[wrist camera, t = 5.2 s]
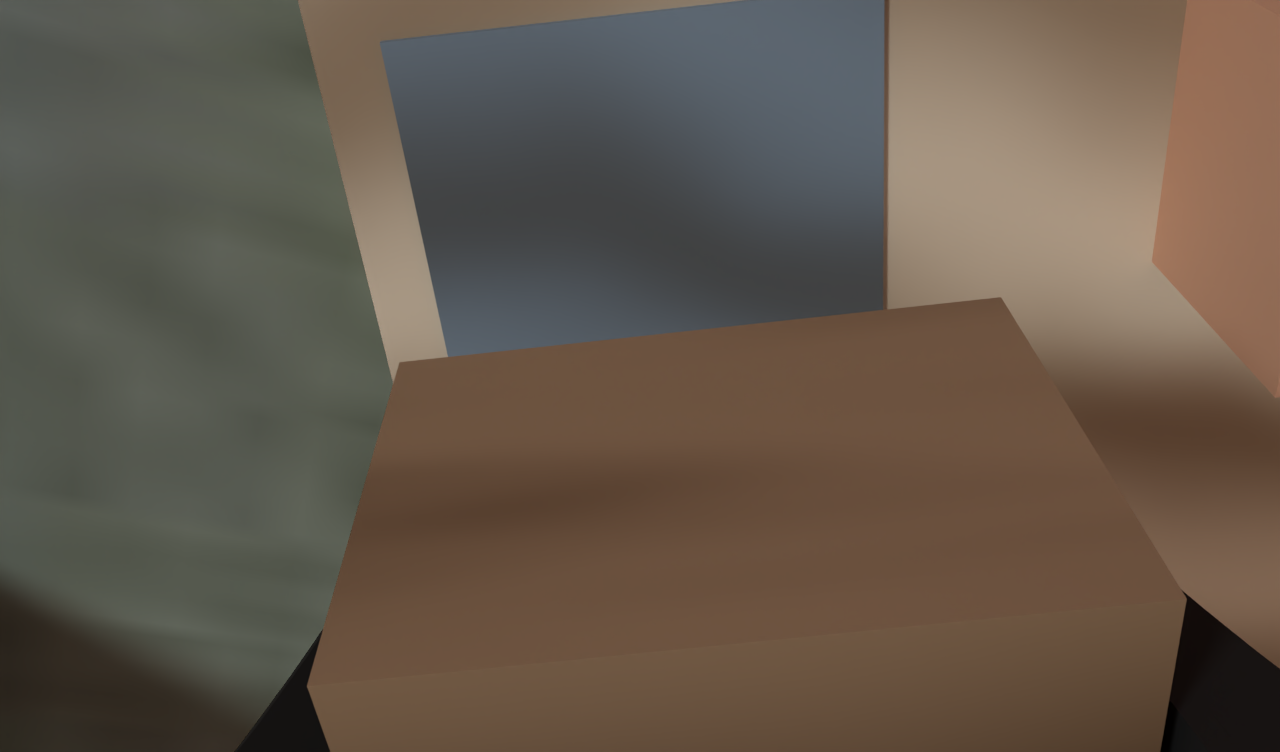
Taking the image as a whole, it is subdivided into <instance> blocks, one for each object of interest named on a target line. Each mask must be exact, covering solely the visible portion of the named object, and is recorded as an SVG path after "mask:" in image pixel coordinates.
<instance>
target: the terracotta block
mask: <svg viewBox="0 0 1280 752" xmlns="http://www.w3.org/2000/svg"><path fill="white" fill-rule="evenodd" d="M1152 263H1153V264H1154V265H1155V266H1156V267H1157V268H1158V269H1159V270H1160V271H1161V272H1162V274H1163V275H1164V276H1165V277H1166V278H1167V279H1168V280H1169V281H1170V282H1171V283H1172V285H1173V286H1174V287H1175V288H1176V289H1177V290H1178V291H1179V292H1180V293H1181V294H1182V296H1183V297H1184V298H1185V299H1186V300H1187V301H1188V302H1189V303H1190V304H1191V306H1192V307H1193V308H1194V309H1195V310H1196V311H1197V312H1198V313H1199V314H1200V315H1201V317H1202V318H1203V319H1204V320H1205V321H1206V322H1207V323H1208V324H1209V325H1210V326H1211V328H1212V329H1213V330H1214V331H1215V332H1216V333H1217V334H1218V335H1219V336H1220V338H1221V339H1222V340H1223V341H1224V342H1225V343H1226V344H1227V345H1228V346H1229V347H1230V349H1231V350H1232V351H1233V352H1234V353H1235V354H1236V355H1237V356H1238V357H1239V358H1240V360H1241V361H1242V362H1243V363H1244V364H1245V365H1246V366H1247V367H1248V368H1249V369H1250V371H1251V372H1252V373H1253V374H1254V375H1255V376H1256V377H1257V378H1258V379H1259V381H1260V382H1261V383H1262V384H1263V385H1264V386H1265V387H1266V388H1267V389H1268V390H1269V392H1270V393H1271V394H1272V395H1273V396H1274V397H1275V398H1278V397H1280V0H1187V5H1186V12H1185V20H1184V27H1183V34H1182V42H1181V49H1180V57H1179V64H1178V71H1177V79H1176V86H1175V94H1174V101H1173V108H1172V116H1171V123H1170V131H1169V138H1168V145H1167V153H1166V160H1165V168H1164V175H1163V182H1162V190H1161V197H1160V205H1159V212H1158V220H1157V227H1156V234H1155V242H1154V249H1153V257H1152Z"/></svg>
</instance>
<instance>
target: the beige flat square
mask: <svg viewBox="0 0 1280 752" xmlns="http://www.w3.org/2000/svg"><path fill="white" fill-rule="evenodd" d="M298 3H299V7H300V11H301V15H302V19H303V23H304V27H305V31H306V35H307V39H308V43H309V47H310V51H311V55H312V59H313V63H314V67H315V71H316V75H317V79H318V83H319V87H320V91H321V95H322V99H323V103H324V107H325V111H326V115H327V119H328V123H329V127H330V131H331V135H332V139H333V143H334V147H335V151H336V155H337V159H338V163H339V167H340V171H341V175H342V179H343V183H344V187H345V191H346V195H347V199H348V203H349V207H350V211H351V215H352V220H353V224H354V228H355V232H356V236H357V240H358V244H359V248H360V252H361V256H362V260H363V264H364V268H365V272H366V276H367V280H368V284H369V288H370V292H371V296H372V300H373V304H374V308H375V312H376V316H377V320H378V324H379V328H380V332H381V336H382V340H383V344H384V348H385V352H386V356H387V360H388V364H389V368H390V372H391V376H392V380H393V383H394V380H395V376H396V373H397V369H398V366H399V362H406V361H416V360H425V359H434V358H443V357H453V356H462V355H471V354H480V353H490V352H499V351H508V350H517V349H527V348H536V347H545V346H554V345H564V344H573V343H582V342H591V341H600V340H610V339H619V338H628V337H637V336H647V335H656V334H665V333H674V332H684V331H693V330H702V329H711V328H721V327H730V326H739V325H748V324H758V323H767V322H776V321H785V320H795V319H804V318H813V317H822V316H832V315H841V314H850V313H859V312H869V311H878V310H887V309H896V308H905V307H915V306H924V305H933V304H942V303H952V302H961V301H970V300H979V299H989V298H998V297H1001V298H1002V300H1003V301H1004V303H1005V304H1006V306H1007V308H1008V309H1009V311H1010V313H1011V314H1012V316H1013V317H1014V319H1015V321H1016V322H1017V324H1018V326H1019V327H1020V329H1021V330H1022V332H1023V334H1024V335H1025V337H1026V338H1027V340H1028V342H1029V343H1030V345H1031V347H1032V348H1033V350H1034V351H1035V353H1036V355H1037V356H1038V358H1039V360H1040V361H1041V363H1042V364H1043V366H1044V368H1045V369H1046V371H1047V373H1048V374H1049V376H1050V377H1051V379H1052V381H1053V382H1054V384H1055V386H1056V387H1057V389H1058V390H1059V392H1060V394H1061V395H1062V397H1063V399H1064V400H1065V402H1066V403H1067V405H1068V407H1069V408H1070V410H1071V412H1072V413H1073V415H1074V416H1075V418H1076V420H1077V421H1078V423H1079V425H1080V426H1081V428H1082V429H1083V431H1084V433H1085V434H1086V436H1087V438H1088V439H1089V441H1090V442H1091V444H1092V446H1093V447H1094V449H1095V451H1096V452H1097V454H1098V455H1099V457H1100V459H1101V460H1102V462H1103V464H1104V465H1105V467H1106V468H1107V470H1108V472H1109V473H1110V475H1111V477H1112V478H1113V480H1114V481H1115V483H1116V485H1117V486H1118V488H1119V490H1120V491H1121V493H1122V494H1123V496H1124V498H1125V499H1126V501H1127V502H1128V504H1129V506H1130V507H1131V509H1132V511H1133V512H1134V514H1135V515H1136V517H1137V519H1138V520H1139V522H1140V524H1141V525H1142V527H1143V528H1144V530H1145V532H1146V533H1147V535H1148V537H1149V538H1150V540H1151V541H1152V543H1153V545H1154V546H1155V548H1156V550H1157V551H1158V553H1159V554H1160V556H1161V558H1162V559H1163V561H1164V563H1165V564H1166V566H1167V567H1168V569H1169V571H1170V572H1171V574H1172V576H1173V577H1174V579H1175V580H1176V582H1177V584H1178V585H1179V587H1180V589H1181V590H1183V591H1184V592H1185V593H1186V594H1187V595H1188V596H1190V597H1191V598H1192V599H1193V600H1194V601H1196V602H1197V603H1198V604H1199V605H1200V606H1202V607H1203V608H1204V609H1205V610H1206V611H1208V612H1209V613H1210V614H1211V615H1213V616H1214V617H1215V618H1216V619H1218V620H1219V621H1220V622H1221V623H1223V624H1224V625H1225V626H1226V627H1227V628H1229V629H1230V630H1231V631H1232V632H1234V633H1235V634H1236V635H1237V636H1239V637H1240V638H1241V639H1242V640H1244V641H1245V642H1246V643H1247V644H1249V645H1250V646H1251V647H1252V648H1254V649H1255V650H1256V651H1257V652H1259V653H1260V654H1261V655H1263V656H1264V657H1265V658H1266V659H1268V660H1269V661H1270V662H1272V663H1273V664H1274V665H1276V666H1277V667H1278V668H1280V397H1278V398H1275V397H1274V396H1273V395H1272V394H1271V393H1270V392H1269V390H1268V389H1267V388H1266V387H1265V386H1264V385H1263V384H1262V383H1261V382H1260V381H1259V379H1258V378H1257V377H1256V376H1255V375H1254V374H1253V373H1252V372H1251V371H1250V369H1249V368H1248V367H1247V366H1246V365H1245V364H1244V363H1243V362H1242V361H1241V360H1240V358H1239V357H1238V356H1237V355H1236V354H1235V353H1234V352H1233V351H1232V350H1231V349H1230V347H1229V346H1228V345H1227V344H1226V343H1225V342H1224V341H1223V340H1222V339H1221V338H1220V336H1219V335H1218V334H1217V333H1216V332H1215V331H1214V330H1213V329H1212V328H1211V326H1210V325H1209V324H1208V323H1207V322H1206V321H1205V320H1204V319H1203V318H1202V317H1201V315H1200V314H1199V313H1198V312H1197V311H1196V310H1195V309H1194V308H1193V307H1192V306H1191V304H1190V303H1189V302H1188V301H1187V300H1186V299H1185V298H1184V297H1183V296H1182V294H1181V293H1180V292H1179V291H1178V290H1177V289H1176V288H1175V287H1174V286H1173V285H1172V283H1171V282H1170V281H1169V280H1168V279H1167V278H1166V277H1165V276H1164V275H1163V274H1162V272H1161V271H1160V270H1159V269H1158V268H1157V267H1156V266H1155V265H1154V264H1153V263H1152V257H1153V249H1154V242H1155V234H1156V227H1157V220H1158V212H1159V205H1160V197H1161V190H1162V182H1163V175H1164V168H1165V160H1166V153H1167V145H1168V138H1169V131H1170V123H1171V116H1172V108H1173V101H1174V94H1175V86H1176V79H1177V71H1178V64H1179V57H1180V49H1181V42H1182V34H1183V27H1184V20H1185V12H1186V5H1187V0H298Z"/></svg>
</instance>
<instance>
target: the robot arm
mask: <svg viewBox="0 0 1280 752" xmlns="http://www.w3.org/2000/svg"><path fill="white" fill-rule="evenodd" d="M1182 592H1183V593H1184V595H1185V597H1186V598H1187V601H1186V606H1185V612H1184V618H1183V624H1182V629H1181V635H1180V641H1179V647H1178V652H1177V658H1176V664H1175V670H1174V675H1173V681H1172V687H1171V692H1170V698H1169V704H1168V710H1167V715H1166V721H1165V727H1164V733H1163V738H1162V744H1161V750H1160V752H1280V668H1278V667H1277V666H1276V665H1274V664H1273V663H1272V662H1270V661H1269V660H1268V659H1266V658H1265V657H1264V656H1263V655H1261V654H1260V653H1259V652H1257V651H1256V650H1255V649H1254V648H1252V647H1251V646H1250V645H1249V644H1247V643H1246V642H1245V641H1244V640H1242V639H1241V638H1240V637H1239V636H1237V635H1236V634H1235V633H1234V632H1232V631H1231V630H1230V629H1229V628H1227V627H1226V626H1225V625H1224V624H1223V623H1221V622H1220V621H1219V620H1218V619H1216V618H1215V617H1214V616H1213V615H1211V614H1210V613H1209V612H1208V611H1206V610H1205V609H1204V608H1203V607H1202V606H1200V605H1199V604H1198V603H1197V602H1196V601H1194V600H1193V599H1192V598H1191V597H1190V596H1188V595H1187V594H1186V593H1185V592H1184V591H1183V590H1182ZM322 631H323V630H322ZM322 631H321V633H320V634H319V636H318V637H317V638H316V640H315V641H314V643H313V644H312V646H311V647H310V649H309V650H308V652H307V653H306V654H305V656H304V657H303V659H302V660H301V662H300V663H299V665H298V666H297V667H296V669H295V670H294V672H293V673H292V675H291V676H290V677H289V679H288V680H287V682H286V683H285V684H284V686H283V687H282V688H281V690H280V691H279V692H278V694H277V695H276V697H275V698H274V699H273V701H272V702H271V703H270V705H269V706H268V708H267V709H266V710H265V712H264V713H263V714H262V716H261V717H260V719H259V720H258V721H257V723H256V724H255V725H254V727H253V728H252V729H251V731H250V732H249V733H248V735H247V736H246V737H245V739H244V740H243V741H242V743H241V744H240V745H239V747H238V748H237V749H236V750H235V752H330V749H329V747H328V744H327V741H326V738H325V735H324V733H323V730H322V727H321V724H320V721H319V719H318V716H317V713H316V710H315V707H314V705H313V702H312V699H311V696H310V693H309V691H308V688H307V684H308V680H309V677H310V673H311V670H312V666H313V663H314V659H315V656H316V652H317V649H318V645H319V642H320V638H321V635H322Z"/></svg>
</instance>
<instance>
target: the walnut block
mask: <svg viewBox="0 0 1280 752" xmlns="http://www.w3.org/2000/svg"><path fill="white" fill-rule="evenodd" d="M1186 601H1187V598H1186V597H1185V595H1184V593H1183V592H1182V590H1181V589H1180V587H1179V585H1178V584H1177V582H1176V580H1175V579H1174V577H1173V576H1172V574H1171V572H1170V571H1169V569H1168V567H1167V566H1166V564H1165V563H1164V561H1163V559H1162V558H1161V556H1160V554H1159V553H1158V551H1157V550H1156V548H1155V546H1154V545H1153V543H1152V541H1151V540H1150V538H1149V537H1148V535H1147V533H1146V532H1145V530H1144V528H1143V527H1142V525H1141V524H1140V522H1139V520H1138V519H1137V517H1136V515H1135V514H1134V512H1133V511H1132V509H1131V507H1130V506H1129V504H1128V502H1127V501H1126V499H1125V498H1124V496H1123V494H1122V493H1121V491H1120V490H1119V488H1118V486H1117V485H1116V483H1115V481H1114V480H1113V478H1112V477H1111V475H1110V473H1109V472H1108V470H1107V468H1106V467H1105V465H1104V464H1103V462H1102V460H1101V459H1100V457H1099V455H1098V454H1097V452H1096V451H1095V449H1094V447H1093V446H1092V444H1091V442H1090V441H1089V439H1088V438H1087V436H1086V434H1085V433H1084V431H1083V429H1082V428H1081V426H1080V425H1079V423H1078V421H1077V420H1076V418H1075V416H1074V415H1073V413H1072V412H1071V410H1070V408H1069V407H1068V405H1067V403H1066V402H1065V400H1064V399H1063V397H1062V395H1061V394H1060V392H1059V390H1058V389H1057V387H1056V386H1055V384H1054V382H1053V381H1052V379H1051V377H1050V376H1049V374H1048V373H1047V371H1046V369H1045V368H1044V366H1043V364H1042V363H1041V361H1040V360H1039V358H1038V356H1037V355H1036V353H1035V351H1034V350H1033V348H1032V347H1031V345H1030V343H1029V342H1028V340H1027V338H1026V337H1025V335H1024V334H1023V332H1022V330H1021V329H1020V327H1019V326H1018V324H1017V322H1016V321H1015V319H1014V317H1013V316H1012V314H1011V313H1010V311H1009V309H1008V308H1007V306H1006V304H1005V303H1004V301H1003V300H1002V298H1001V297H998V298H989V299H979V300H970V301H961V302H952V303H942V304H933V305H924V306H915V307H905V308H896V309H887V310H878V311H869V312H859V313H850V314H841V315H832V316H822V317H813V318H804V319H795V320H785V321H776V322H767V323H758V324H748V325H739V326H730V327H721V328H711V329H702V330H693V331H684V332H674V333H665V334H656V335H647V336H637V337H628V338H619V339H610V340H600V341H591V342H582V343H573V344H564V345H554V346H545V347H536V348H527V349H517V350H508V351H499V352H490V353H480V354H471V355H462V356H453V357H443V358H434V359H425V360H416V361H406V362H399V366H398V369H397V373H396V376H395V380H394V383H393V387H392V390H391V394H390V397H389V401H388V404H387V408H386V411H385V415H384V418H383V422H382V425H381V429H380V432H379V436H378V439H377V443H376V446H375V449H374V453H373V456H372V460H371V463H370V467H369V470H368V474H367V477H366V481H365V484H364V488H363V491H362V495H361V498H360V502H359V505H358V509H357V512H356V516H355V519H354V523H353V526H352V530H351V533H350V537H349V540H348V544H347V547H346V551H345V554H344V558H343V561H342V565H341V568H340V572H339V575H338V579H337V582H336V586H335V589H334V593H333V596H332V600H331V603H330V607H329V610H328V614H327V617H326V621H325V624H324V628H323V631H322V635H321V638H320V642H319V645H318V649H317V652H316V656H315V659H314V663H313V666H312V670H311V673H310V677H309V680H308V684H307V688H308V691H309V693H310V696H311V699H312V702H313V705H314V707H315V710H316V713H317V716H318V719H319V721H320V724H321V727H322V730H323V733H324V735H325V738H326V741H327V744H328V747H329V749H330V752H1160V750H1161V744H1162V738H1163V733H1164V727H1165V721H1166V715H1167V710H1168V704H1169V698H1170V692H1171V687H1172V681H1173V675H1174V670H1175V664H1176V658H1177V652H1178V647H1179V641H1180V635H1181V629H1182V624H1183V618H1184V612H1185V606H1186Z"/></svg>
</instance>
